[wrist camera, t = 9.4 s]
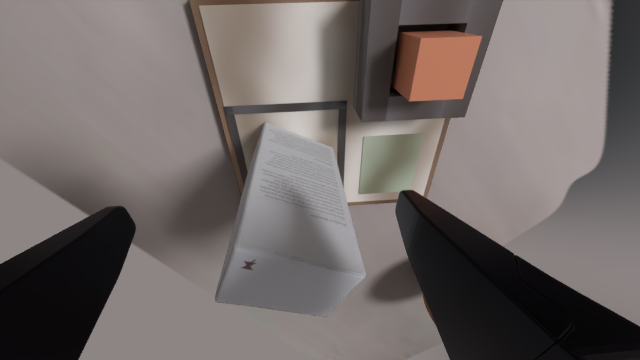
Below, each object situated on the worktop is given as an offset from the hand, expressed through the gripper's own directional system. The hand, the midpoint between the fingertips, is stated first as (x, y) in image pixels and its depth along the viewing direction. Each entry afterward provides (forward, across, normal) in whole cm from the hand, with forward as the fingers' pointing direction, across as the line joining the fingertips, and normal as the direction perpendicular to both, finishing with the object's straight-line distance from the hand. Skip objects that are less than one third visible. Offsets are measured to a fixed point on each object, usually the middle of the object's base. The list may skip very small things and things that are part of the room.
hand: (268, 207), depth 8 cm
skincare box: (+12, 0, +5) cm, 13 cm away
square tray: (+13, -4, +2) cm, 14 cm away
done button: (+10, -9, -3) cm, 13 cm away
